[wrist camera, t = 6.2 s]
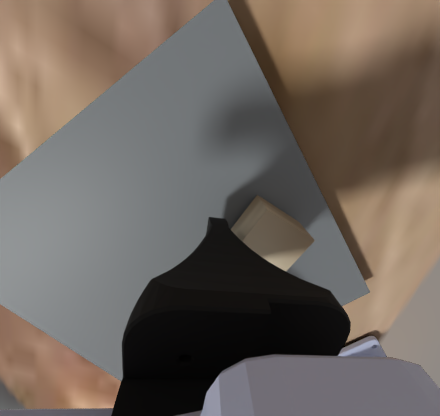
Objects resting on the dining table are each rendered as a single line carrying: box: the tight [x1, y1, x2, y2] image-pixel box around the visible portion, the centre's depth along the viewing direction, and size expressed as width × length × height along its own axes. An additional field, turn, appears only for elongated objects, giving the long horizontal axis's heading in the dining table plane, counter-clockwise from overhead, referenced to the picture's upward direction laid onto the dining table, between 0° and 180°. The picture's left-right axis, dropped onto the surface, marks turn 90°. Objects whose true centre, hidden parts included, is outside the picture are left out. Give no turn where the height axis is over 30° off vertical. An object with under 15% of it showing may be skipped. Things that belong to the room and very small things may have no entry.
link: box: [231, 195, 315, 271], centre depth 12 cm, size 14×3×4 cm, turn 146°
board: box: [0, 0, 370, 381], centre depth 14 cm, size 19×20×1 cm
